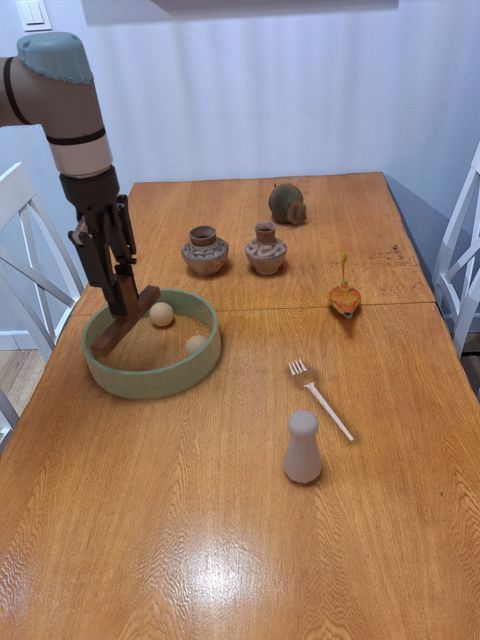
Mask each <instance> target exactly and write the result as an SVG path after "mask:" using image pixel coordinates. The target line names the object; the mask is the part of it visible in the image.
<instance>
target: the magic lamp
mask: <svg viewBox="0 0 480 640" xmlns="http://www.w3.org/2000/svg"><path fill="white" fill-rule="evenodd" d="M341 258H342V259H341V260H340V262H341V263H340V266H341V268H340V269H341V278H342V281H341V282H340V284H341V285H339V286H337V287H333V288H332V289H331V290H330V291H329V292H328V295H327V301H328V303H329V304H330V306H332V307H333V309H335V310H336V311H337V312H338V314H341V315H342V316H343V317H344V318H345V319H352V318H353V314H354V312H355V311H356V309H357V307H358V306H359V305H360V303H361V301H362V295H361V293H360V292H359V290H357V289H356V288H354V287H351V286H350V285H349V284H350V282H348V280H346V279H345V265H346V261H347V260H348V258H349V254H348V253H347V252H346V251H343V252H342V254H341Z"/></svg>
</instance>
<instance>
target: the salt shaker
mask: <svg viewBox="0 0 480 640" xmlns="http://www.w3.org/2000/svg"><path fill="white" fill-rule="evenodd" d="M286 424H287V429H288V432H289V439H288V443H287V447H286V452H285V455H284V457H283V462H282V466H283V469H284V473H285V474H286V475H287V477H288V478H289V479H290V480H291V481H293V482H296V483H298V484H304V485H307V484H308V483H310V482H313V481H314V480H315V479H317V478H318V476H320V474H321V471H322V468H323V462H322V458H321V455H320V451H319V446H318V441H317V436H316V435H317V434H318V431H319V427H320V423H319V419H318V416H317V415H316V414H315V413H314V412H313V411H310V410H309V409H298V410H296V411H293V412H292V413H291V414H289V417H288V420H287V423H286Z"/></svg>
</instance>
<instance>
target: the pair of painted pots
mask: <svg viewBox="0 0 480 640" xmlns="http://www.w3.org/2000/svg"><path fill="white" fill-rule="evenodd" d="M253 228H254V229H253V230H254V232H255V236H256V238H253V239H252V240H250V241H249V242H248V243H247V244H246V245H245V247H244V252H245V256H246V259H247V260H248V262H249V263H250V265H251V266H252V267H253V268H254V269H255V272H256V273H257V274H259V275H263V276H270V275H273V274H275V273H277V272H278V271H279V267H280V266H281V265H282V264H283V263H284V261H285V258H286V255H287V253H288V244H287V243H286V242H284V240H281V239H280V238H278V237H276V231H277V224H276V223H275V222H273V221H269V220H266V221H265V220H264V221H260V222H257V223H256V224H255V225H254V226H253ZM188 236H189V241H187V242H186V243H185V244H183V246H182V248H181V250H180V253H181V254H180V255H181V257H182V259H183V261H184V263H185V264H186V265H187V266H188V267H189V268H190V269H191V270H193V271H195V273H196V274H197V275H199V276H211V275H212V276H213V275H214V274H216V273H218V272H219V271H220V269H221V268H222V267H223V266H224V265H225V263H226V261H227V259H228V256H229V250H230V245H229V243H228V242H227V241H226V240H224V239H223V238H221V237H218V236H217V229H216V228H215V227H214V226H211V225H198V226H194V227H192V228H191V229H190V230H189V232H188Z"/></svg>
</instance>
